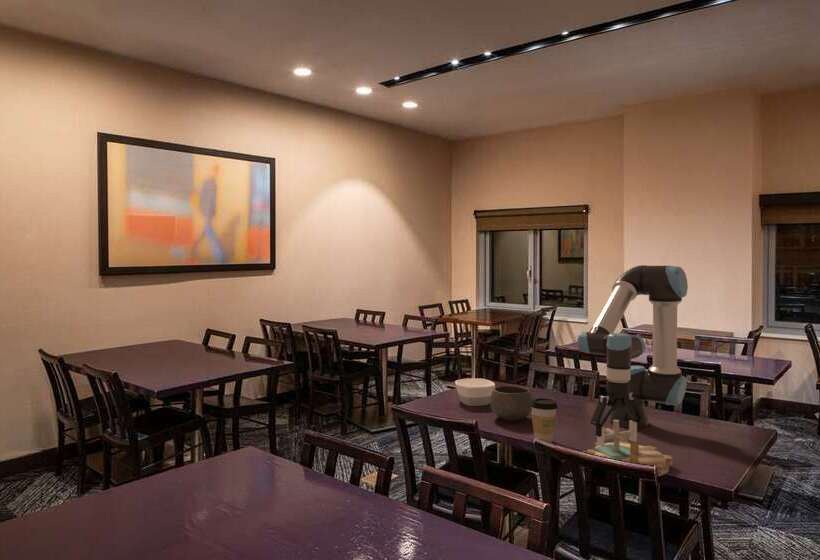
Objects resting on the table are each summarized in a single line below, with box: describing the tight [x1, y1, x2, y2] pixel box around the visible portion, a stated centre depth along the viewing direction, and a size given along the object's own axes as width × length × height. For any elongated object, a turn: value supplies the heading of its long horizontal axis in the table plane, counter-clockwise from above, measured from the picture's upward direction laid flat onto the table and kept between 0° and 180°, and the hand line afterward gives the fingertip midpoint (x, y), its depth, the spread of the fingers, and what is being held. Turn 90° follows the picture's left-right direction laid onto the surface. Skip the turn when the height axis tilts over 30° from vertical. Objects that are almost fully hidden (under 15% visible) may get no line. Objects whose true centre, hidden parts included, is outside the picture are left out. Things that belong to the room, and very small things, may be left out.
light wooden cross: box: [604, 420, 631, 451], centre depth 187 cm, size 10×10×10 cm
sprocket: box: [587, 440, 673, 474], centre depth 184 cm, size 26×26×9 cm
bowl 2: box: [489, 385, 534, 422], centre depth 234 cm, size 18×18×13 cm
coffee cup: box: [530, 397, 559, 442], centre depth 206 cm, size 10×10×15 cm
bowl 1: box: [454, 377, 496, 407], centre depth 259 cm, size 18×18×9 cm
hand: (616, 443), depth 187 cm, fingers open, 13 cm apart
